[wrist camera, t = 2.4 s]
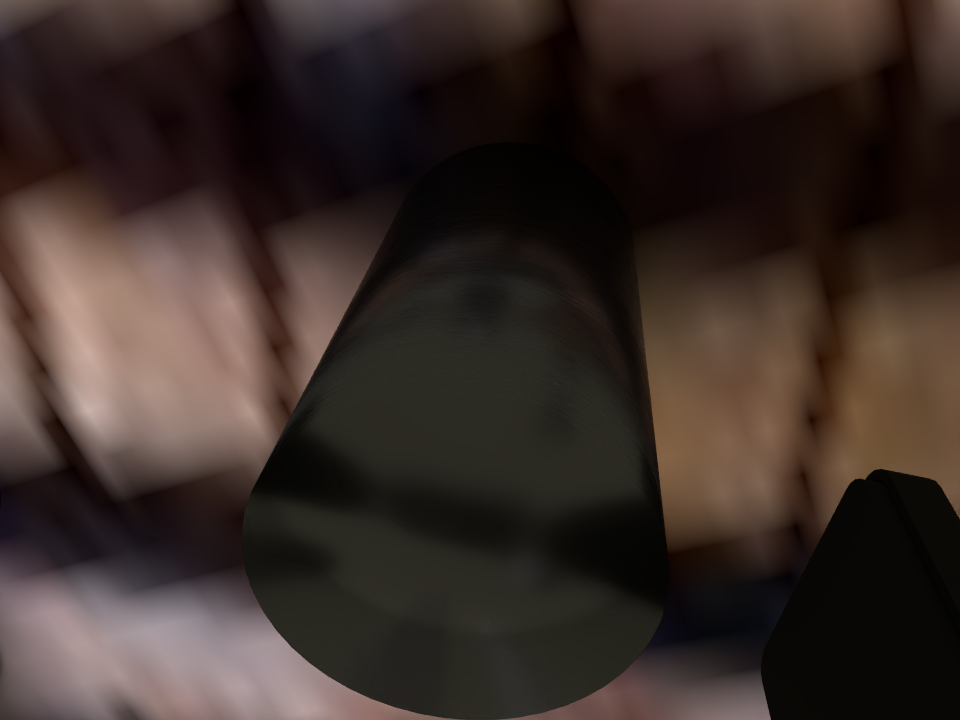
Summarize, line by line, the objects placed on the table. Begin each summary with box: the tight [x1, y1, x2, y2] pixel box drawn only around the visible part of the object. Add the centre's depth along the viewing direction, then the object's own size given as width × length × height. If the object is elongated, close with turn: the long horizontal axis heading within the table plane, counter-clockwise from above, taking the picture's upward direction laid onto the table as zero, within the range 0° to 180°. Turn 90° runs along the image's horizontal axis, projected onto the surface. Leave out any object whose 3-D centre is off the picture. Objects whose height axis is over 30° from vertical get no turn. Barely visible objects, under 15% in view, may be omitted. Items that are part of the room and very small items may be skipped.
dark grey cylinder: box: [242, 143, 669, 720], centre depth 13 cm, size 4×4×8 cm
